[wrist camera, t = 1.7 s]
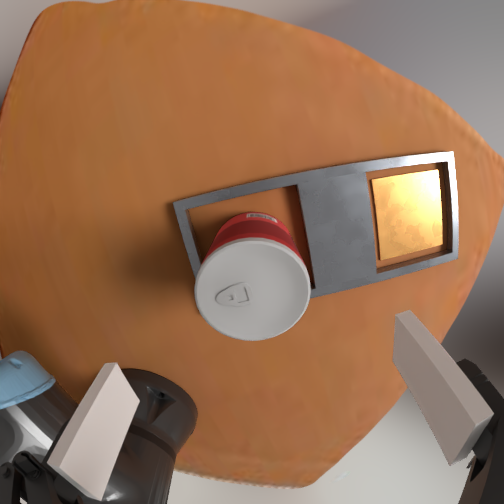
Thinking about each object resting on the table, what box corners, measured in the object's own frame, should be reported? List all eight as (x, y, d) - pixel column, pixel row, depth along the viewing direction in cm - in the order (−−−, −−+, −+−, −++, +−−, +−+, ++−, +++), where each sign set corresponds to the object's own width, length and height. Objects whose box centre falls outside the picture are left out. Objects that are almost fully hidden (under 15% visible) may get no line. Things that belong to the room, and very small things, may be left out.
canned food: (200, 234, 29) (171, 276, 18) (269, 195, 28) (277, 216, 17) (238, 293, 31) (231, 357, 20) (304, 259, 30) (329, 311, 19)
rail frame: (209, 312, 32) (208, 318, 31) (176, 200, 28) (172, 202, 27) (452, 255, 29) (457, 258, 28) (446, 151, 25) (452, 151, 24)
